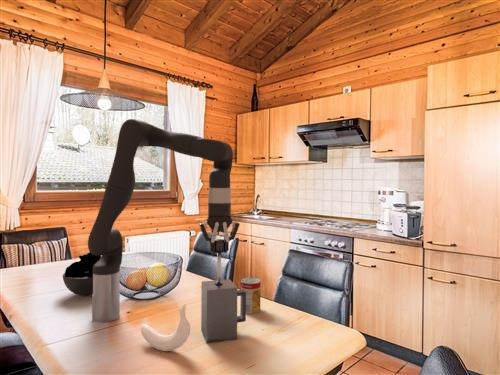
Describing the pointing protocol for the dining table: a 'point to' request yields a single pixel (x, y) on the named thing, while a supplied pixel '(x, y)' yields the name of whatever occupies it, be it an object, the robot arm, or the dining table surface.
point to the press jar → (221, 310)
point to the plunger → (219, 257)
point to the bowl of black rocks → (81, 275)
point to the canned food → (251, 294)
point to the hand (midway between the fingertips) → (219, 252)
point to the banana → (170, 340)
